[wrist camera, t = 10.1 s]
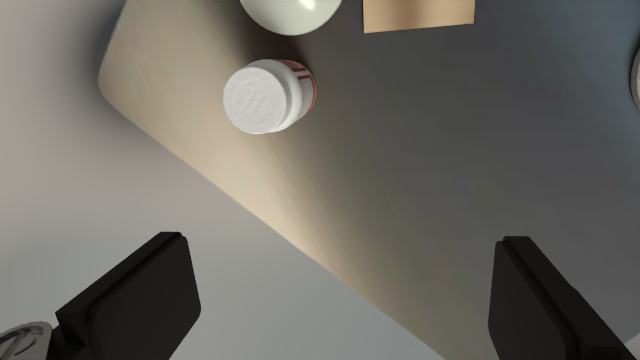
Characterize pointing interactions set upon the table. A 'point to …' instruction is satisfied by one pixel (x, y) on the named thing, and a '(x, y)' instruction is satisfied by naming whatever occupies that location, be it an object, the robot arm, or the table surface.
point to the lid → (291, 14)
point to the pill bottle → (268, 95)
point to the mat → (415, 14)
